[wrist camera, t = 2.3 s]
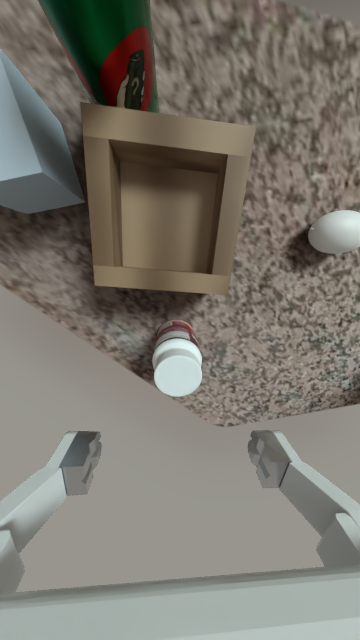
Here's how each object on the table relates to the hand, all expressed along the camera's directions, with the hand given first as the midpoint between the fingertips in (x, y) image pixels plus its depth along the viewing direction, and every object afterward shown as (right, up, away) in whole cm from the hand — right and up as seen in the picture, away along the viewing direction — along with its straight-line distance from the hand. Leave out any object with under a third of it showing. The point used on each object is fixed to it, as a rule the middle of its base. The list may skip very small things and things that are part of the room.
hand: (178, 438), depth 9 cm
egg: (+16, +16, +10) cm, 24 cm away
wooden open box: (-1, +16, +9) cm, 18 cm away
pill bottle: (0, +4, +13) cm, 14 cm away
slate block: (-13, +20, +7) cm, 25 cm away
